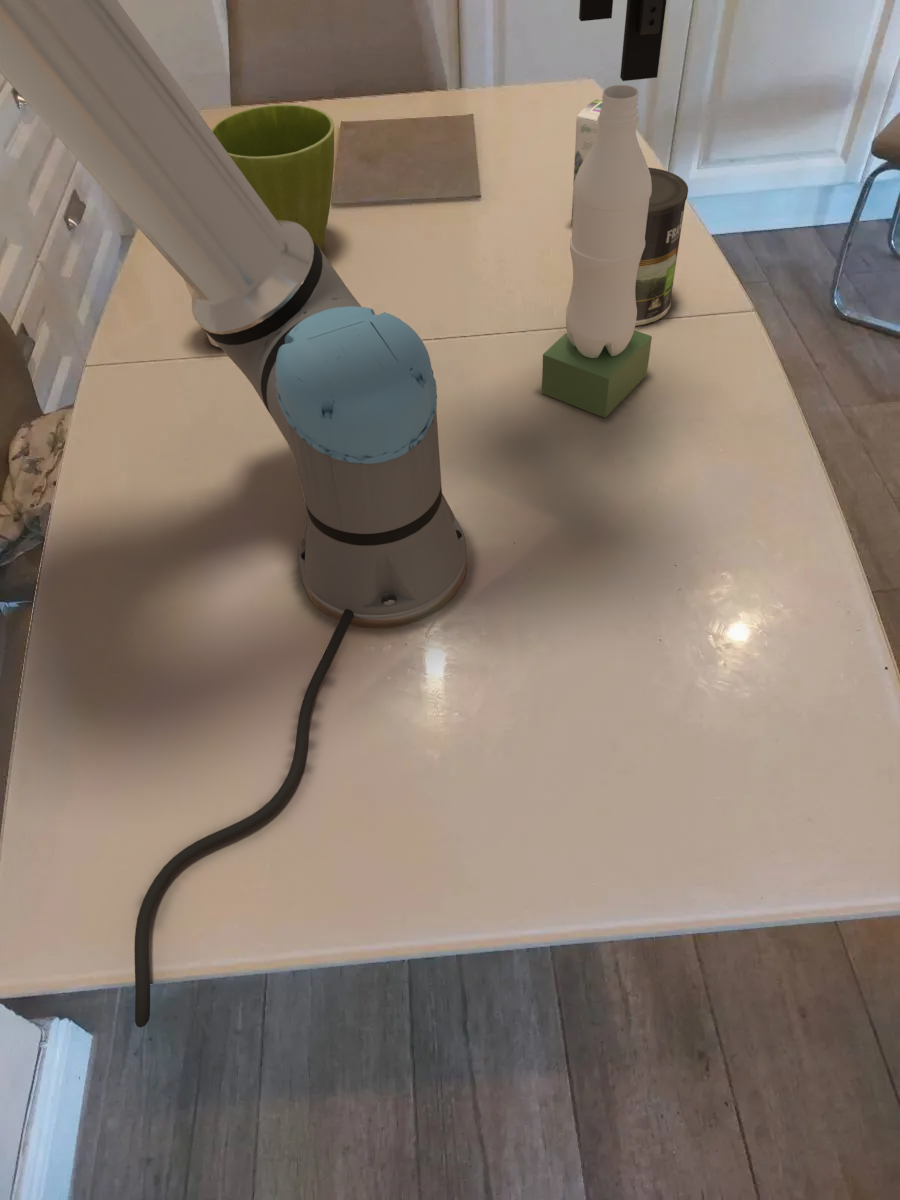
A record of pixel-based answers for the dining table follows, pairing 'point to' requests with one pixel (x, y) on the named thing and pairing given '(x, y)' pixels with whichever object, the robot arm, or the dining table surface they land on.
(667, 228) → the coffee can
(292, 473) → the dining table surface
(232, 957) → the dining table surface
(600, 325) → the water bottle
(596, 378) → the green block
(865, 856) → the dining table surface
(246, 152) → the flower pot
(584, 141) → the syrup box
